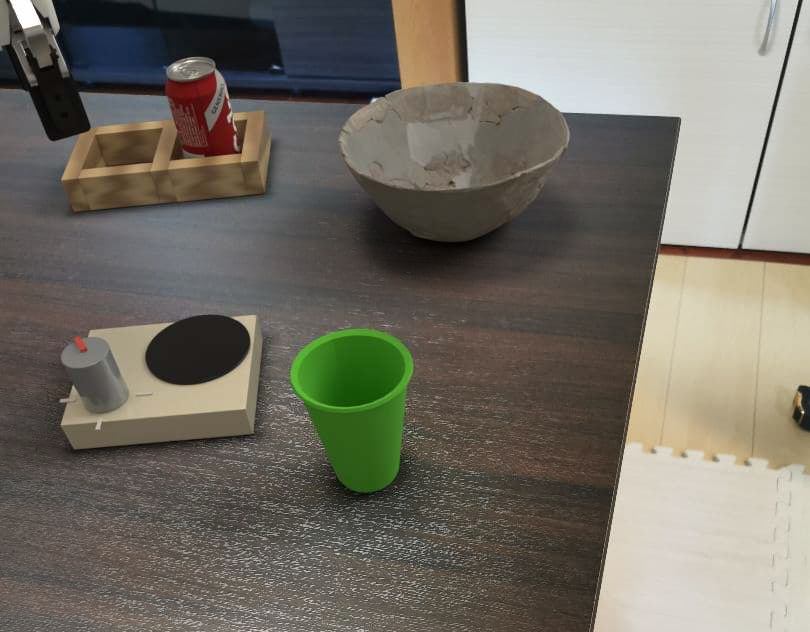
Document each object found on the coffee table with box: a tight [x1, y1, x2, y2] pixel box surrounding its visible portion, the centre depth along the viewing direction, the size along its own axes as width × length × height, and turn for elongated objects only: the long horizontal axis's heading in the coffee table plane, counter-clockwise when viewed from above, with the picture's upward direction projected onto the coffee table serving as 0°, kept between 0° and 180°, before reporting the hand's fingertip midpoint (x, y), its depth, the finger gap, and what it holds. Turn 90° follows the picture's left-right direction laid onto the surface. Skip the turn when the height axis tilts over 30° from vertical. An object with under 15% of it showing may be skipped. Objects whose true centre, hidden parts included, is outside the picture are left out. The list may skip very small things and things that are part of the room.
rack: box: [60, 109, 272, 213], centre depth 101 cm, size 23×12×4 cm, turn 92°
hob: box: [59, 314, 264, 450], centre depth 76 cm, size 17×14×3 cm
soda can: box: [164, 56, 242, 159], centre depth 98 cm, size 7×7×12 cm
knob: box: [60, 335, 129, 413], centre depth 71 cm, size 4×4×5 cm
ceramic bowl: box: [337, 81, 571, 243], centre depth 88 cm, size 22×23×10 cm
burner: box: [145, 314, 251, 385], centre depth 76 cm, size 10×10×1 cm
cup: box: [289, 328, 414, 494], centre depth 65 cm, size 9×9×11 cm
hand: (56, 109), depth 65 cm, fingers open, 9 cm apart
